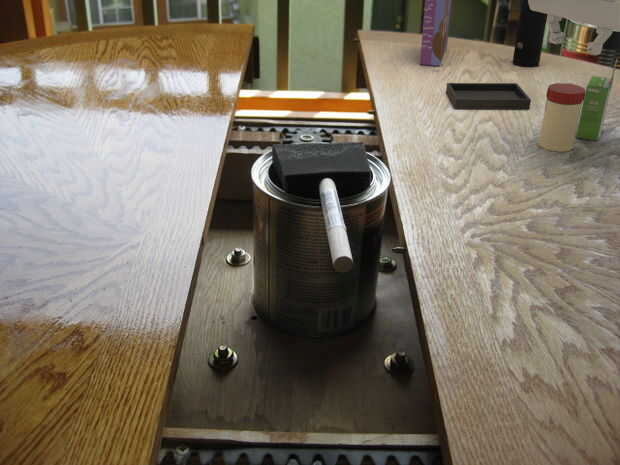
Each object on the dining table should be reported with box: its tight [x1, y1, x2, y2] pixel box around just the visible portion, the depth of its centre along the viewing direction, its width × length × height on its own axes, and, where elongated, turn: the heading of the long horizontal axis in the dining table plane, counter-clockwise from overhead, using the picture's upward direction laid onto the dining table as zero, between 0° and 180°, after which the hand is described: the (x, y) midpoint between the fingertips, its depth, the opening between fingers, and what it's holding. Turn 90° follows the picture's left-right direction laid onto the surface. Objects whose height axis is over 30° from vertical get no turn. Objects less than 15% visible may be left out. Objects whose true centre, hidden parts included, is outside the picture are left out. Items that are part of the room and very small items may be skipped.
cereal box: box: [419, 0, 453, 67], centre depth 164 cm, size 17×5×24 cm, turn 164°
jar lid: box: [546, 82, 586, 104], centre depth 113 cm, size 6×6×2 cm
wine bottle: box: [512, 0, 548, 68], centre depth 157 cm, size 6×6×30 cm
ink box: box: [575, 58, 618, 141], centre depth 119 cm, size 7×4×13 cm, turn 152°
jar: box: [538, 97, 583, 153], centre depth 115 cm, size 6×6×10 cm
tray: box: [445, 82, 532, 110], centre depth 139 cm, size 15×11×2 cm
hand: (573, 48), depth 109 cm, fingers open, 7 cm apart
